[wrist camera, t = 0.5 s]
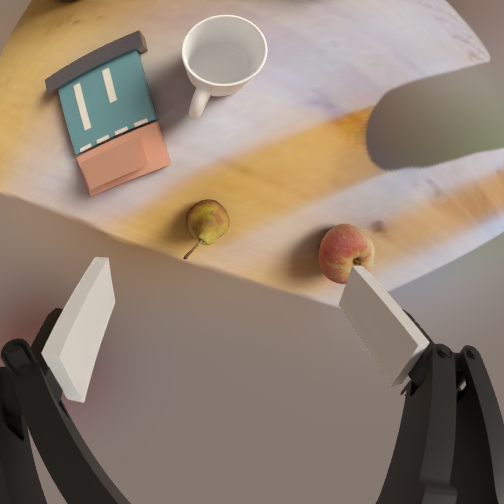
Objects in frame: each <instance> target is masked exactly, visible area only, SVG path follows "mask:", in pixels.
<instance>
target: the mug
mask: <svg viewBox="0 0 504 504" xmlns="http://www.w3.org/2000/svg"><path fill="white" fill-rule="evenodd" d="M181 56H182V60H183V63H184V66H185V69H186V72H187V74H188V77H189V79H190V81H191V83H192V84H193V85H194V86H195V87H196V90H195V92H194V95H193V98H192V101H191V104H190V108H189V117H190V118H191V119H198V118H199V117H200V115H201V114H202V112H203V110H204V108H205V106H206V104H207V102H208V100H209V98H210V96H227V95H231V94H233V93H235V92H237V91H239V90H240V89H242V88H243V87H244V86H245V85H246V84H247V83H248V82H249V81H250V80H251V79H252V78H253V77H254V76H255V75H256V74H257V73H258V72H259V71H260V70H261V68H262V67H263V65H264V63H265V60H266V57H267V43H266V40H265V38H264V36H263V34H262V32H261V31H260V30H259V29H258V28H257V27H256V26H255V25H254V24H253V23H251V22H250V21H248V20H246V19H244V18H241V17H238V16H233V15H218V16H213V17H209V18H207V19H204V20H202V21H200V22H199V23H197V24H196V25H195V26H193V27H192V28H191V29H190V31H189V32H188V33H187V35H186V36H185V38H184V40H183V43H182V48H181Z"/></svg>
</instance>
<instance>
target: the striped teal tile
mask: <svg viewBox="0 0 504 504" xmlns="http://www.w3.org/2000/svg"><path fill="white" fill-rule="evenodd" d="M58 91H59V95H60V100H61V104H62V108H63V112H64V116H65V120H66V124H67V127H68V131H69V134H70V138H71V141H72V144H73V148H74V151H75V154H76V155H77V154H80V153H83V152H85V151H87V150H89V149H91V148H93V147H95V146H97V145H99V144H101V143H103V142H105V141H107V140H109V139H111V138H114V137H116V136H118V135H120V134H123V133H125V132H127V131H130V130H132V129H134V128H137V127H139V126H142V125H144V124H147V123H150V122H152V121H155V120H158V119H157V116H156V113H155V109H154V106H153V102H152V99H151V95H150V92H149V88H148V85H147V81H146V77H145V73H144V70H143V66H142V62H141V58H140V54H139V51H138V50H137V51H134V52H132V53H129V54H127V55H124V56H122V57H120V58H118V59H115V60H113V61H111V62H109V63H107V64H105V65H103V66H101V67H99V68H97V69H95V70H93V71H91V72H89V73H87V74H85V75H83V76H82V77H80V78H78V79H76V80H74V81H73V82H71V83H69V84H68V85H66V86H64V87H63V88H61V89H59V90H58Z"/></svg>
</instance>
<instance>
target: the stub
mask: <svg viewBox="0 0 504 504" xmlns="http://www.w3.org/2000/svg"><path fill="white" fill-rule="evenodd" d="M77 160H78V163H79V166H80V169H81V172H82V174H83V177H84V180H85V183H86V185H87V188H88V191H89V193H90V196H91V197H92V196H94V195H96V194H98V193H100V192H103V191H105V190H107V189H110V188H112V187H114V186H117V185H119V184H121V183H124V182H126V181H129V180H131V179H134V178H136V177H139V176H141V175H144V174H147V173H149V172H152V171H155V170H157V169H160V168H163V167H166V166H168V165H170V164H171V161H170V158H169V155H168V152H167V149H166V146H165V142H164V139H163V136H162V133H161V129H160V126H159V123H158V122H154V123H152V124H149V125H146V126H144V127H141V128H139V129H136V130H134V131H132V132H129V133H127V134H125V135H122V136H120V137H118V138H115V139H113V140H111V141H109V142H107V143H105V144H102V145H100V146H98V147H96V148H94V149H92V150H90V151H88V152H86V153H84V154H82V155H80V156H79V157H77Z"/></svg>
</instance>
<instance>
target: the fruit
mask: <svg viewBox="0 0 504 504" xmlns="http://www.w3.org/2000/svg"><path fill="white" fill-rule="evenodd" d="M186 225H187V229H188V231H189V233H190V234H191V235H192V236H193V237H194V238H195V239H197V240H198V242H199V243H197V244H196V245H195V247H194V248H193V249H192V250H191V251H189V252H188V253H187V254H186V255H185V256H184V259H187V258H188V256H189V255H190V254H191V253H192V252H193V251H194V250H195V248H196V247H198V246H199V245H200V244H203V245H210V244H212V243H214V242H215V241H216V240H217V239H218V238H219V237H221V236H222V235H223V234H224V233H225V232H226V231H227V230H228V228H229V217H228V214H227V212H226V210H225V209H224V207H223V206H222V205H221V204H220V203H218V202H217V201H215V200H202V201H200V202H198V203H196V204H195V205H194V206H193V207H192V208H191V209H190V210H189V212H188V214H187V218H186Z"/></svg>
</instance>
